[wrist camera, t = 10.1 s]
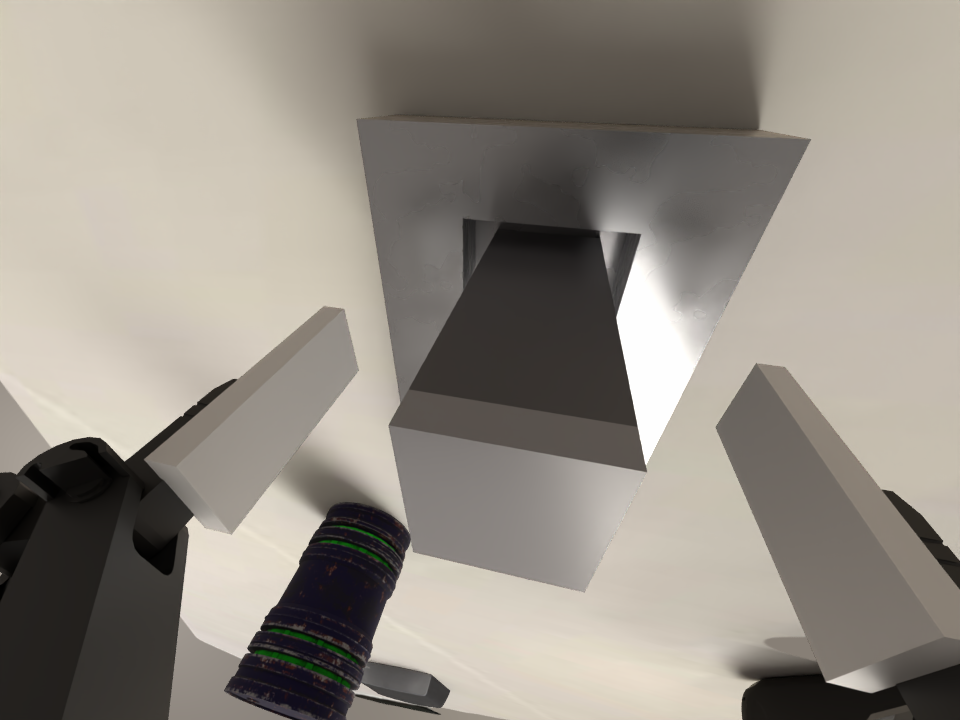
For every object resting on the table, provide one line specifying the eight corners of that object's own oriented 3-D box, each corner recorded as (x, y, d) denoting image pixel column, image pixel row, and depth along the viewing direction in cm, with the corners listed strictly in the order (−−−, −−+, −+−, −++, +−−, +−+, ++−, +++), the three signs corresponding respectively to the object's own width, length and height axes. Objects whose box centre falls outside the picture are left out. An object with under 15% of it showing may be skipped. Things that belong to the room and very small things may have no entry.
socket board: (759, 129, 13) (811, 139, 10) (597, 511, 29) (599, 555, 26) (396, 114, 15) (356, 119, 12) (432, 478, 31) (418, 515, 28)
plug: (600, 238, 15) (646, 472, 6) (578, 335, 18) (584, 592, 9) (497, 229, 16) (388, 425, 6) (492, 324, 19) (413, 552, 9)
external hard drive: (358, 656, 82) (349, 679, 79) (431, 670, 76) (424, 696, 73) (383, 674, 89) (376, 696, 86) (452, 689, 83) (447, 713, 79)
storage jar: (403, 510, 35) (319, 717, 24) (418, 557, 41) (357, 740, 29) (315, 495, 37) (197, 678, 25) (341, 541, 43) (256, 708, 31)
